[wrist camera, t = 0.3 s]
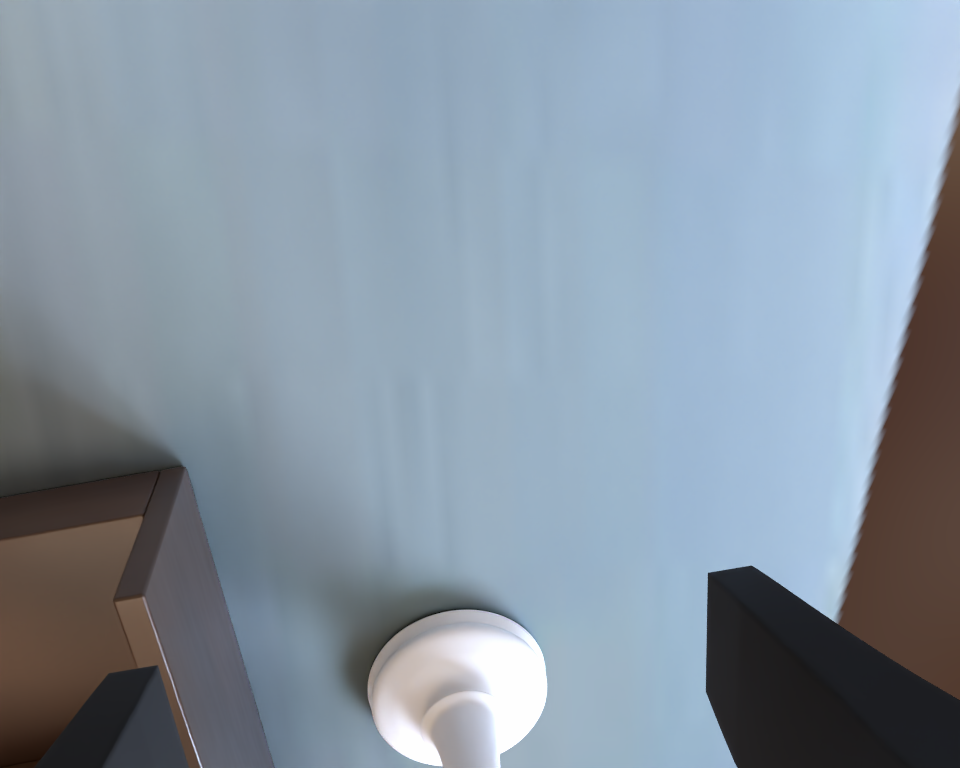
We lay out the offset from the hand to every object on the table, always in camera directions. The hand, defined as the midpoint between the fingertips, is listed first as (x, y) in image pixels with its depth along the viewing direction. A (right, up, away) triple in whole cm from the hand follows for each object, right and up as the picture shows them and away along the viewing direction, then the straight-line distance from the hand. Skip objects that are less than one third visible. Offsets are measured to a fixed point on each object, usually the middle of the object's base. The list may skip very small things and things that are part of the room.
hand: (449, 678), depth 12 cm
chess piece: (0, -4, +13) cm, 14 cm away
